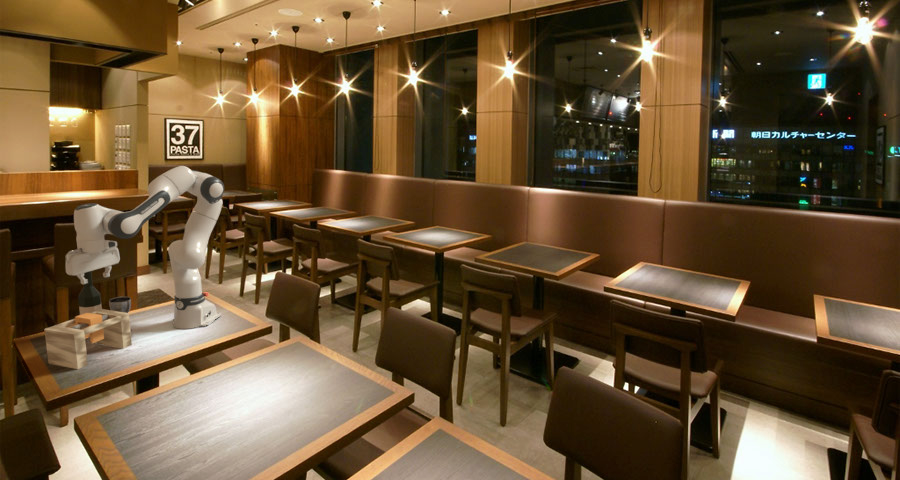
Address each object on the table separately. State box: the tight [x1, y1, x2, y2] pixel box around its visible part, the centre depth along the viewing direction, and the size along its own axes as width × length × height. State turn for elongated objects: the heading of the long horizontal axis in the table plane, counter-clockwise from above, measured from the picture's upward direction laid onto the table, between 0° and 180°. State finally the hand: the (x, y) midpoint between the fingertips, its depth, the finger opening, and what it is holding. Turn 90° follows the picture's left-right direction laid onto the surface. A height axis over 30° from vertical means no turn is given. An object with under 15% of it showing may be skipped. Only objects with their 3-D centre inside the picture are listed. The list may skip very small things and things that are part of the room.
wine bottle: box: [77, 271, 103, 315], centre depth 222 cm, size 8×8×30 cm
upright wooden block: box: [74, 313, 104, 344], centre depth 201 cm, size 5×8×10 cm, turn 76°
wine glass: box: [108, 296, 133, 332], centre depth 224 cm, size 8×8×15 cm
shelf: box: [44, 308, 133, 370], centre depth 202 cm, size 24×14×14 cm, turn 166°
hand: (95, 280), depth 198 cm, fingers open, 8 cm apart
